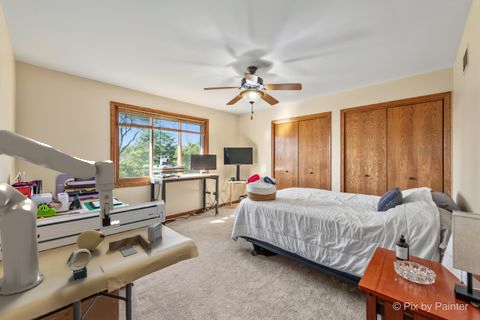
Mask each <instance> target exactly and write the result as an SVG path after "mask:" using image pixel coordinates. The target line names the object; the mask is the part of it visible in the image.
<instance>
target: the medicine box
mask: <svg viewBox="0 0 480 320" xmlns="http://www.w3.org/2000/svg"><path fill="white" fill-rule="evenodd" d="M162 224H163V223H162V222H160V221H159V222H158V221H157V222H154V223H152V224H150V225H148V227H147V240H148V241H150V242H151V243H153V242H154V243H155V242H156V241H158V240H159V239H160V238H161V237H162V236H163V234H162V232H163V229H162V226H163V225H162Z"/></svg>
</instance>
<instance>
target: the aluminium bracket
mask: <svg viewBox="0 0 480 320" xmlns="http://www.w3.org/2000/svg"><path fill="white" fill-rule="evenodd" d="M104 212H105V211H104ZM104 214H105V213H104ZM98 218H99V220H98V221H99V230H100V231H101V232H102V231H105V230H109V229H110V230H111V229H116V228H121V223H120V222H121V221H120V220H112V221H111V225H110V226H106V227H103V225H102V218H103V212H101V210H100V211H99V217H98Z"/></svg>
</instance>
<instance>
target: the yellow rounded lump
mask: <svg viewBox="0 0 480 320" xmlns="http://www.w3.org/2000/svg"><path fill="white" fill-rule="evenodd" d="M105 237H106V235H105V233H104V231H102V230H101V231H98V230H95V229H88V230H85V231H83V232H81V233H80V234H79V236H77V238H76V246H77V248H78V249H87V250H89V251H92V252H94V251H96V248H98V247H99V245H100V244H101V243H102V242H103V241H104V240H105ZM81 253H84V252H83V251H82V252H81Z"/></svg>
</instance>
